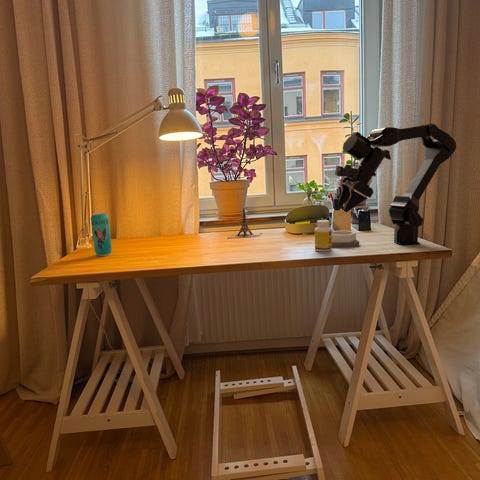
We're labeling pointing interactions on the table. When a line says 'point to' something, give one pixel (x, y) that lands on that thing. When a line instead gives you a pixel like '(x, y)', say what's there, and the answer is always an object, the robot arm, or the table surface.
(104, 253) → the beverage can
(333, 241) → the lens mount
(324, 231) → the supplement bottle
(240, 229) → the eiffel tower figurine
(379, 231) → the table surface
